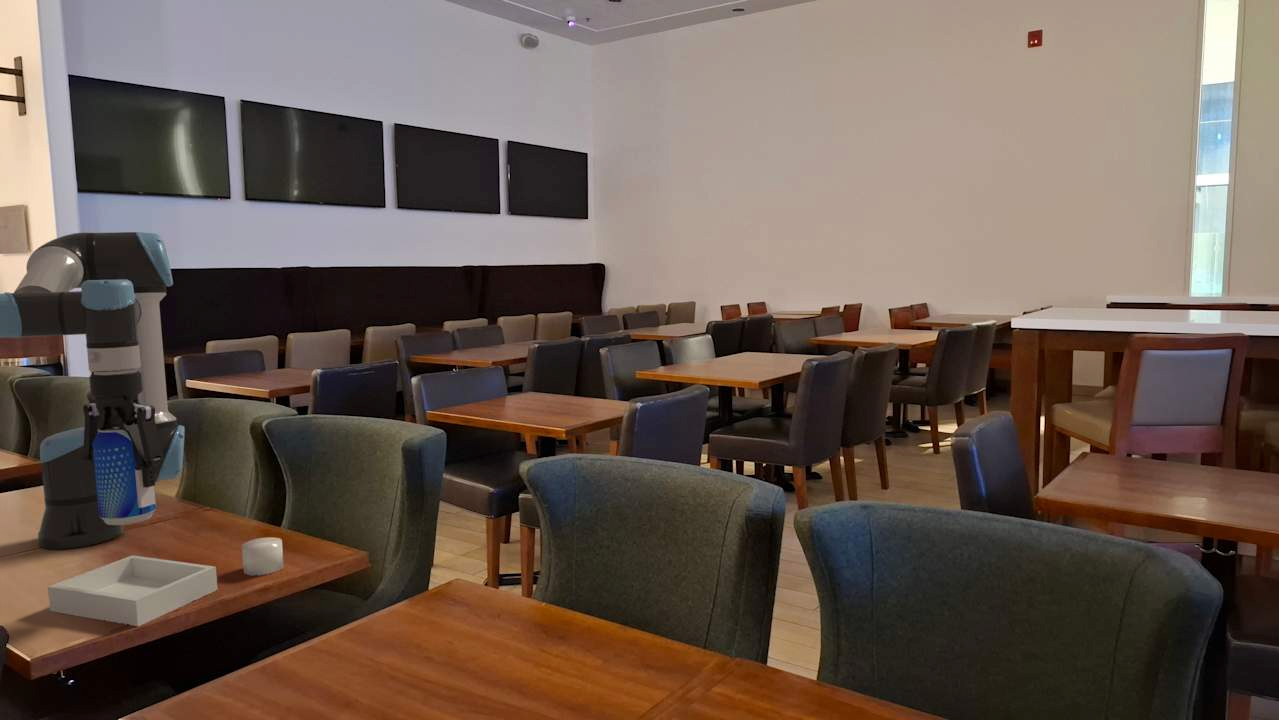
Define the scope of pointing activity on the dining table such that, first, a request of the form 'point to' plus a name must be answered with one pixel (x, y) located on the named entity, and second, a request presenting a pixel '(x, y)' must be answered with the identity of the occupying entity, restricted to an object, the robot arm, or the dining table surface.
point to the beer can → (117, 479)
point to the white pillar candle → (262, 556)
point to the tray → (132, 590)
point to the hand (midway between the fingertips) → (127, 503)
